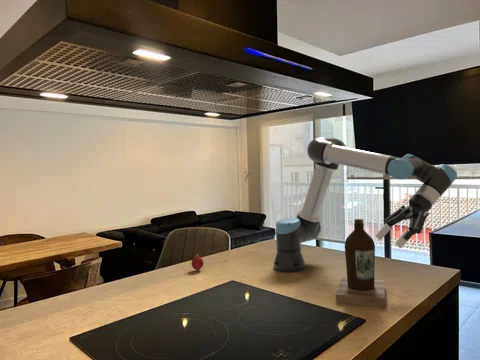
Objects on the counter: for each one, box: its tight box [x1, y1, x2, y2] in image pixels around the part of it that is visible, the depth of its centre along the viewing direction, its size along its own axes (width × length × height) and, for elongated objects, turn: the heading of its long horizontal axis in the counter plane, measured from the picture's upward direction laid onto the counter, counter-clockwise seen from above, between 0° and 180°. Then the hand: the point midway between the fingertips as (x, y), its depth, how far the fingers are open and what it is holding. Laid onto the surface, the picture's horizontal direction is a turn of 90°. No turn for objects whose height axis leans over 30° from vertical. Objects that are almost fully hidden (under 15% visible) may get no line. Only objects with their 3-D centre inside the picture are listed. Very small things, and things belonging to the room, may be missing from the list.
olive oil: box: [344, 218, 376, 291], centre depth 129 cm, size 11×11×25 cm
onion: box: [191, 254, 204, 272], centre depth 170 cm, size 6×6×8 cm
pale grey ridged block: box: [335, 276, 386, 308], centre depth 129 cm, size 20×16×3 cm
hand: (387, 241), depth 130 cm, fingers open, 13 cm apart
